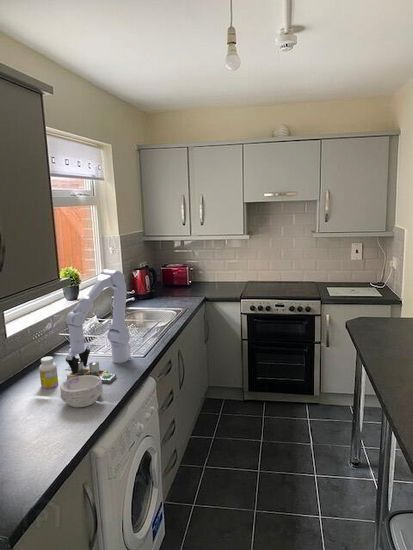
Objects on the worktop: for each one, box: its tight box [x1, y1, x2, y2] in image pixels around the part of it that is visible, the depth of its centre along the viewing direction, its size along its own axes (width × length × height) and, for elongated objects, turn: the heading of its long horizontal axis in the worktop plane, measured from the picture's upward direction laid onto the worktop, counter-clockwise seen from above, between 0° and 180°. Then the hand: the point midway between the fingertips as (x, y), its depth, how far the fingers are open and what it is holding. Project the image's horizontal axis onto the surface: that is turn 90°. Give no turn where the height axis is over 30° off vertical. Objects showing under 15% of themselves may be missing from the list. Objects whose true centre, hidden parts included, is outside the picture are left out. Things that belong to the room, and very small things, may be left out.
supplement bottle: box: [38, 356, 59, 390], centre depth 176 cm, size 7×7×13 cm
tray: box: [65, 362, 90, 371], centre depth 196 cm, size 8×8×1 cm
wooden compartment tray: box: [66, 368, 109, 380], centre depth 185 cm, size 8×15×2 cm, turn 76°
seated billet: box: [88, 361, 101, 377], centre depth 184 cm, size 4×4×6 cm
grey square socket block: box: [100, 373, 117, 384], centre depth 180 cm, size 6×6×2 cm
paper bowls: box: [59, 375, 103, 408], centre depth 163 cm, size 15×15×8 cm
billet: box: [75, 359, 85, 376], centre depth 186 cm, size 4×4×6 cm
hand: (79, 369), depth 186 cm, fingers open, 7 cm apart
